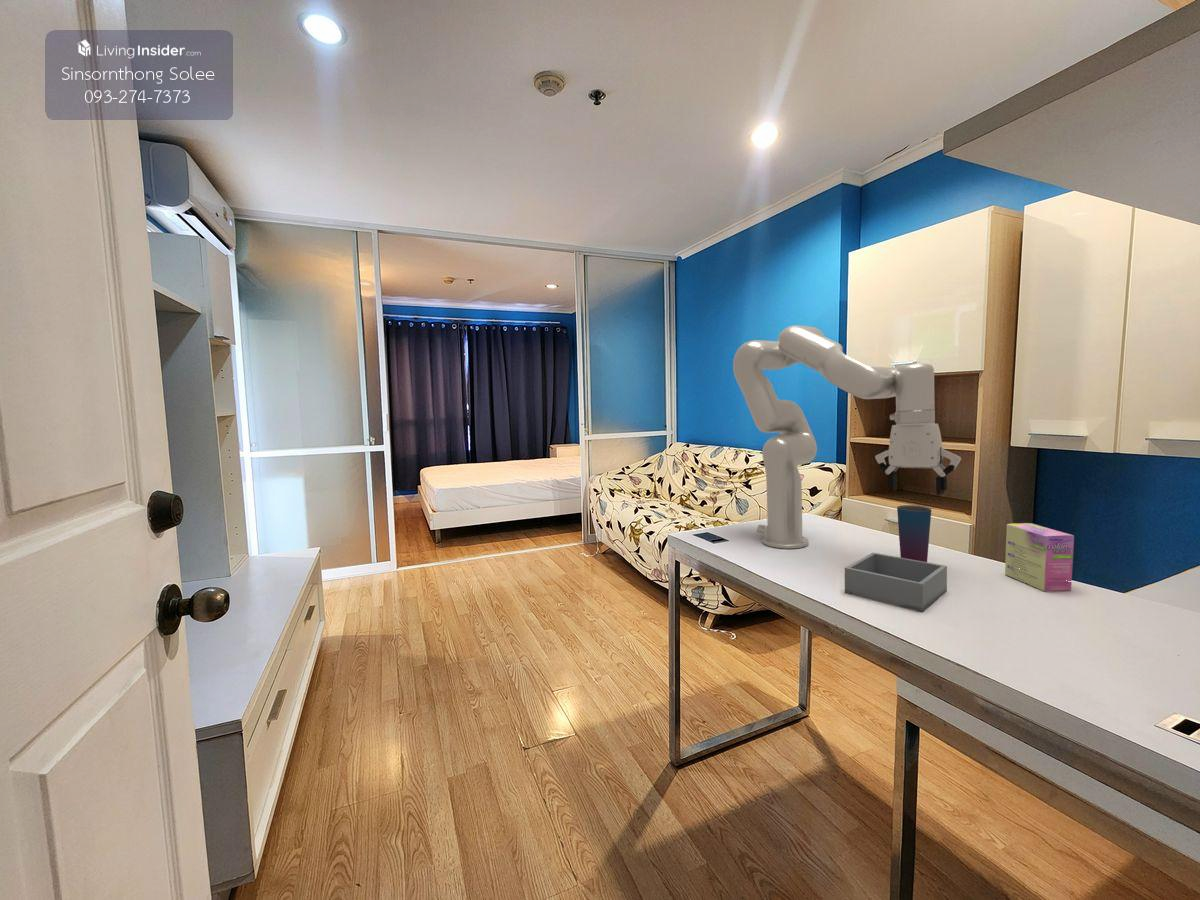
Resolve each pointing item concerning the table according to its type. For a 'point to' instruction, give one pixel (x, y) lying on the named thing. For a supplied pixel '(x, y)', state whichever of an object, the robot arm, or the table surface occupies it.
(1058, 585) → the box
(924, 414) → the robot arm
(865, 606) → the table surface
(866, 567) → the box
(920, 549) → the cup
